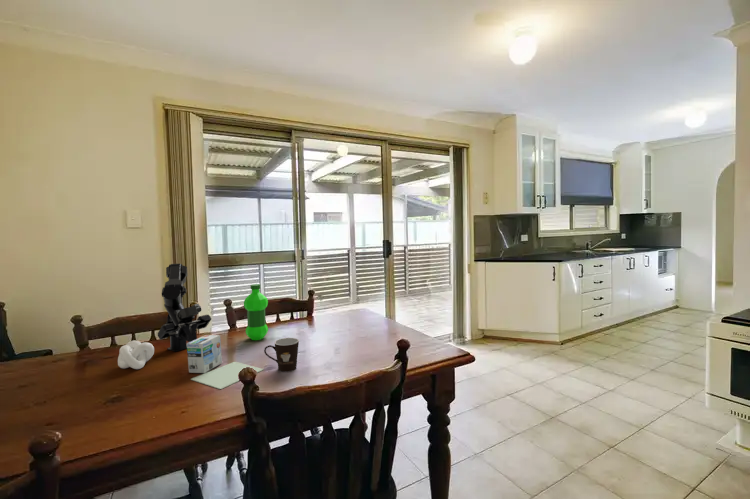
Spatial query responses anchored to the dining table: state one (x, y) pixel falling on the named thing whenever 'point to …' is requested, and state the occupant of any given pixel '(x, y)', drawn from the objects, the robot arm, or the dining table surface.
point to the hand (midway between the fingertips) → (196, 344)
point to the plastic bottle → (256, 313)
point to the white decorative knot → (135, 354)
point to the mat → (223, 375)
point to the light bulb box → (204, 353)
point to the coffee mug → (285, 353)
